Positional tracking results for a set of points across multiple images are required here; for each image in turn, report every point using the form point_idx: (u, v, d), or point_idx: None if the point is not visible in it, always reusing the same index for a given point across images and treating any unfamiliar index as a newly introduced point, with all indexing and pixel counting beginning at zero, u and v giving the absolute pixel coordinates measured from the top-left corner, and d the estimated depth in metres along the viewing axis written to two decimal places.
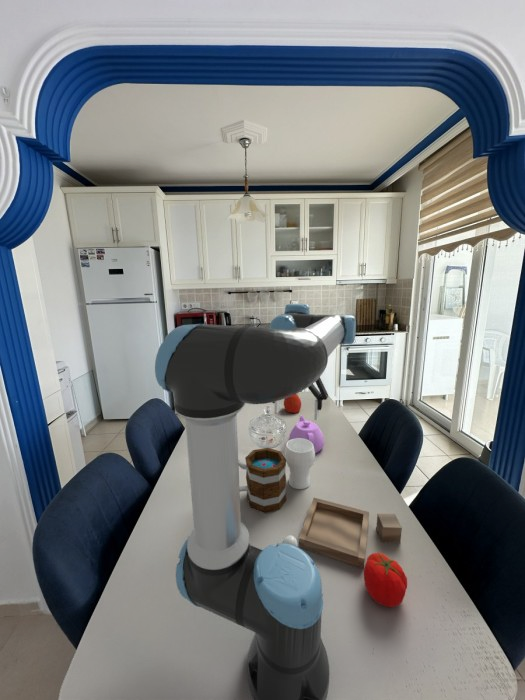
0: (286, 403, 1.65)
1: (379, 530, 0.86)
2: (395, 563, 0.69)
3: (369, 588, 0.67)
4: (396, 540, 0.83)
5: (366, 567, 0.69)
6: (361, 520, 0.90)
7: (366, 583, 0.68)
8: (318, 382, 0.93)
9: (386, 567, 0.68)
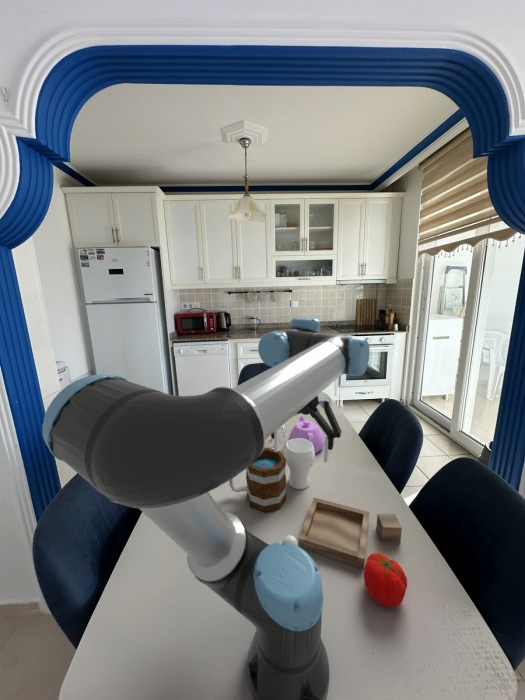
0: None
1: (379, 530, 0.86)
2: (395, 563, 0.69)
3: (369, 588, 0.67)
4: (396, 540, 0.83)
5: (366, 567, 0.69)
6: (361, 520, 0.90)
7: (366, 583, 0.68)
8: (330, 416, 0.74)
9: (386, 567, 0.68)
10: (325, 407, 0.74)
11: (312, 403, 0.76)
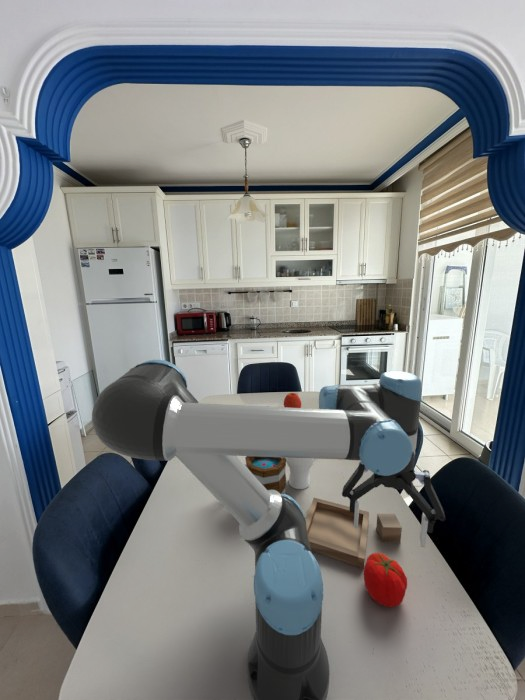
0: (286, 403, 1.65)
1: (379, 530, 0.86)
2: (395, 563, 0.69)
3: (369, 588, 0.67)
4: (396, 540, 0.83)
5: (366, 567, 0.69)
6: (361, 520, 0.90)
7: (366, 583, 0.68)
8: (432, 494, 0.60)
9: (386, 567, 0.68)
10: (426, 484, 0.60)
11: (408, 477, 0.61)
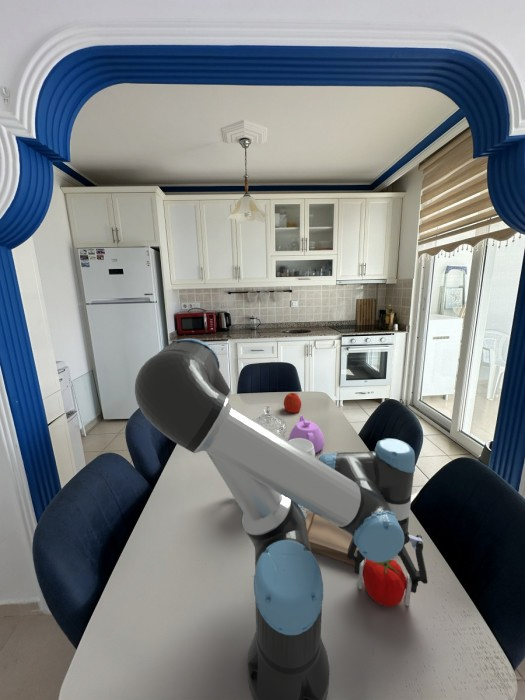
0: (286, 403, 1.65)
1: None
2: (394, 562, 0.69)
3: (368, 588, 0.67)
4: None
5: (365, 567, 0.70)
6: None
7: (365, 583, 0.68)
8: (421, 559, 0.63)
9: (385, 566, 0.68)
10: (417, 549, 0.63)
11: None
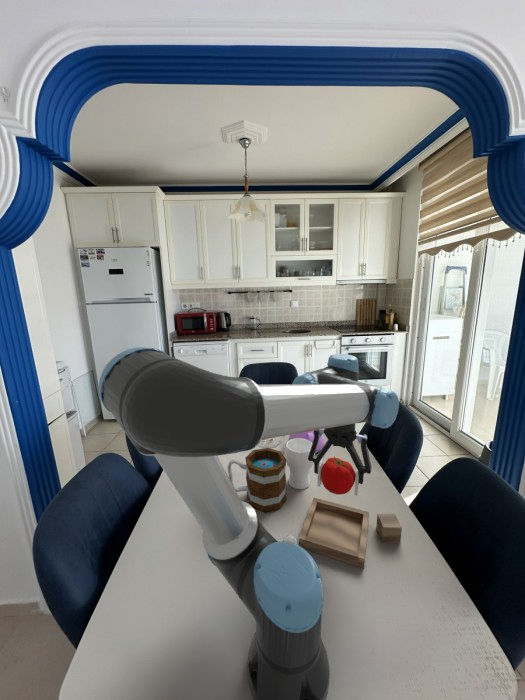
0: None
1: (379, 530, 0.86)
2: (346, 462, 0.82)
3: (324, 480, 0.80)
4: (396, 540, 0.83)
5: (323, 466, 0.83)
6: (361, 520, 0.90)
7: (322, 478, 0.81)
8: (365, 452, 0.77)
9: (338, 464, 0.81)
10: (362, 444, 0.77)
11: (350, 437, 0.78)
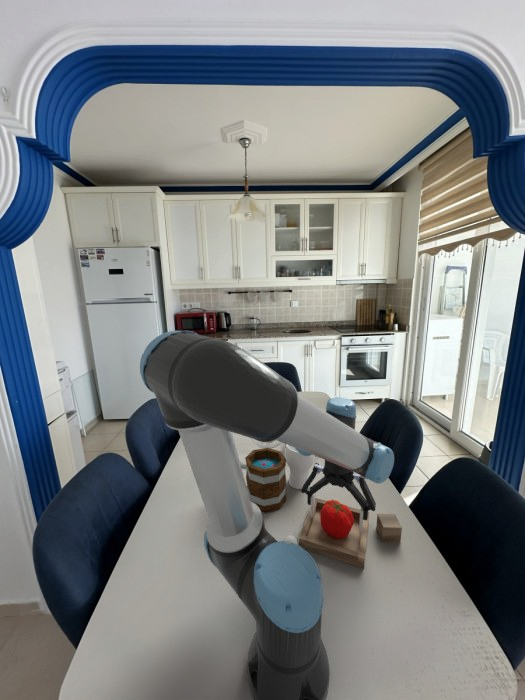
0: None
1: (379, 530, 0.86)
2: (345, 506, 0.85)
3: (323, 525, 0.83)
4: (396, 540, 0.83)
5: (322, 510, 0.86)
6: None
7: (321, 522, 0.84)
8: (365, 491, 0.79)
9: (337, 508, 0.84)
10: (360, 483, 0.79)
11: (348, 478, 0.80)
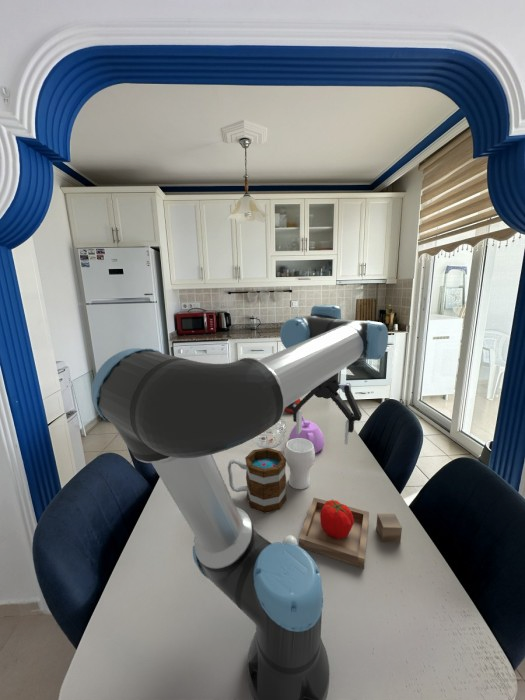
0: None
1: (379, 530, 0.86)
2: (345, 506, 0.85)
3: (323, 525, 0.83)
4: (396, 540, 0.83)
5: (322, 510, 0.86)
6: (361, 520, 0.90)
7: (321, 522, 0.84)
8: (350, 399, 0.77)
9: (337, 508, 0.84)
10: (346, 391, 0.77)
11: (333, 387, 0.78)
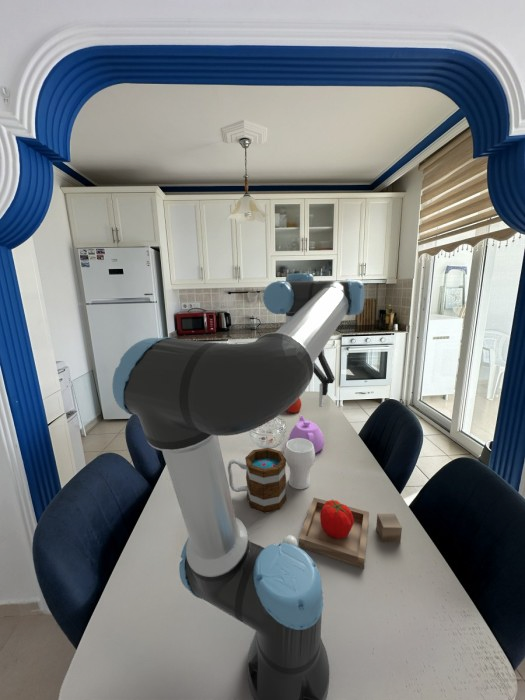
0: None
1: (379, 530, 0.86)
2: (345, 506, 0.85)
3: (323, 525, 0.83)
4: (396, 540, 0.83)
5: (322, 510, 0.86)
6: (361, 520, 0.90)
7: (321, 522, 0.84)
8: (323, 363, 0.81)
9: (337, 508, 0.84)
10: (319, 355, 0.81)
11: None
